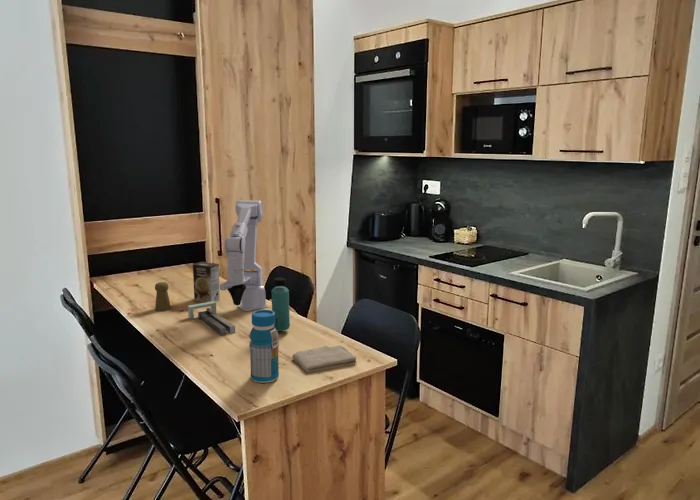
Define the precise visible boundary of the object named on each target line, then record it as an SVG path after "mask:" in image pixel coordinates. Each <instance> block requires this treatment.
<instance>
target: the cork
mask: <svg viewBox="0 0 700 500" xmlns="http://www.w3.org/2000/svg"><path fill="white" fill-rule="evenodd" d="M154 290H155V291H156V294H155V295H156V296H155V297H156V299H155V308H154V310H155V311H156V312H167V311H170V310H171V309H172V308H171V301H170V296H169V292H168V290H169V284H168V282H166V281H165V282H164V281H162V282H161V281H160V282H157V283H156V284H155V285H154Z"/></svg>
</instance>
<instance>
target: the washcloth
mask: <svg viewBox="0 0 700 500" xmlns="http://www.w3.org/2000/svg"><path fill="white" fill-rule="evenodd" d="M292 359H293V360H294V362H296V364H298V365H299V366H300V368H301V369H302V370H303V371H304V372H305V373H309V374H310V373H315V372H319V371H323V370H328V369H334V368H339V367H345V366H350V364H351V365H356V364H357V355H354V354H352V353H351V352H350V351H349V350H348V349H347V348H346V347H345V346H342V345H339V344H338V345H336V346H333V345H332V346H328V345H324V346H322V347H316V348H311V349H305V350H301V351H297V352H295V353H293V354H292ZM355 363H356V364H355Z"/></svg>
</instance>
